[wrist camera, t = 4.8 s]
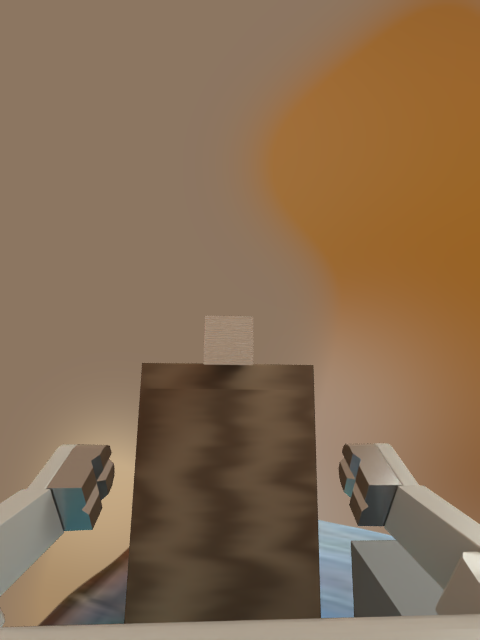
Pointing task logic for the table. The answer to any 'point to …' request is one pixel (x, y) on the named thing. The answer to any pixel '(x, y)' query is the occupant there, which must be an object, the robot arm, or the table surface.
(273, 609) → the walnut shelf
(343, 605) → the table surface
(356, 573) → the block
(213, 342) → the tan bar
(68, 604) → the table surface
